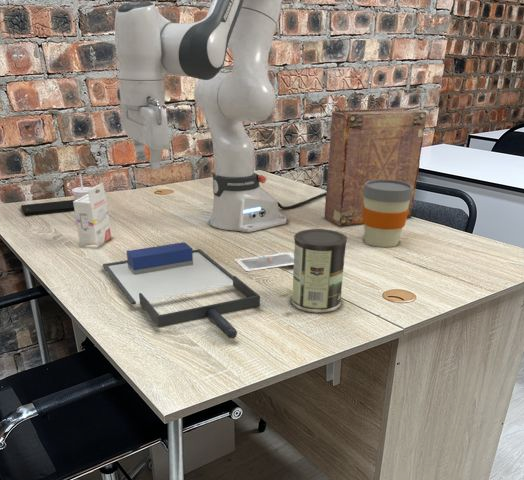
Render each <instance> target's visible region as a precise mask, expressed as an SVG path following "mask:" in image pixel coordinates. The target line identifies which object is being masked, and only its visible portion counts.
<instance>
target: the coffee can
mask: <svg viewBox="0 0 524 480" xmlns="http://www.w3.org/2000/svg"><path fill="white" fill-rule="evenodd" d="M293 240H294V248H293V250H294V251H293V252H294V253H293V254H294V265H293V269H292V270H293V271H292V273H293V274H292V291H291V293H292V295H291V304H292V305H293V306H294V307H295V308H297V309H299V310H301V311H304V312H307V313H329V312H333V311H335V310H337V309H338V308H340V307H341V304H342V301H341V300H342V288H343V277H344V267H345V256H346V248H347V242H348V237H347V236H346V235H345V234H344V233H342V232H339V231H336V230H332V229H325V228H311V229H309V228H308V229H304V230H301V231H298V232H296V233H295V234H294V236H293Z"/></svg>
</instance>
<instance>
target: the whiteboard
mask: <svg viewBox="0 0 524 480" xmlns="http://www.w3.org/2000/svg"><path fill="white" fill-rule="evenodd" d="M192 253H193V265H189V266H183V267H177V268H172V269H166V270H160V271H154V272H148V273H143V274H137V275H135V274H134V273H133V272H132V271H131V270H130V269H129V268H128V261H127V260H121V261H120V260H119V261H113V262H106V263H103V264H102V267H103V268H104V269H105V271H106V272H107V273H108V275H109V276H110V278H111V279H112V280H113V281H114V283H115V284H116V285H117V287H118V288H119V289H120V291H121V292H122V293H123V294H124V296H125V297H126V299H127V300H128V301H129V302H130V304H131V305H137V304H140V299H139V293H142V294H143V296H144V297H145V298H146V299H147V301H148V302H151V301H152V302H153V301H156V300H157V301H159V300H162V299H167V298H168V299H169V298H173V297H177V296H178V297H179V296H184V295H188V294H189V295H190V294H193V293H199V292H205V291H209V290H216V289H221V288H226V287H231V286H232V287H233V276H234V275H233V274H231V273H230V272H229V271H228V270H226V268H224V267H223V266H222V265H220V264H219V263H218V262H217V261H215V260H214V259H213V258H212V257H211V256H209V255H208V254H207V253H206V252H204V251H203V250H202V249H201V248H197V249H192Z"/></svg>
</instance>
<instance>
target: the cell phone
mask: <svg viewBox="0 0 524 480" xmlns="http://www.w3.org/2000/svg"><path fill="white" fill-rule="evenodd" d="M73 201H75V199H69V200H57V201H49V202H38V203H28V204H27V203H26V204H21V205H20V207H21V211H22V212H23V214H24V216H31V215H40V214H49V213H58V212H60V213H61V212H69V211H75V210H74V204H73Z"/></svg>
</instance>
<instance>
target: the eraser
mask: <svg viewBox="0 0 524 480" xmlns="http://www.w3.org/2000/svg"><path fill="white" fill-rule="evenodd" d="M192 250H193V247H192V246H190V245H189V244H188V243H186V242H184V241H183V242H176V243H170V244H163V245H157V246H150V247H145V248H137V249H131V250H126V259H127V261H128V268H129V269H130V270H131V271H132V272H133V273H134V274H135V275H137V274H143V273H148V272H154V271H160V270H166V269H172V268H177V267H183V266H189V265H193V253H192Z"/></svg>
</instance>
